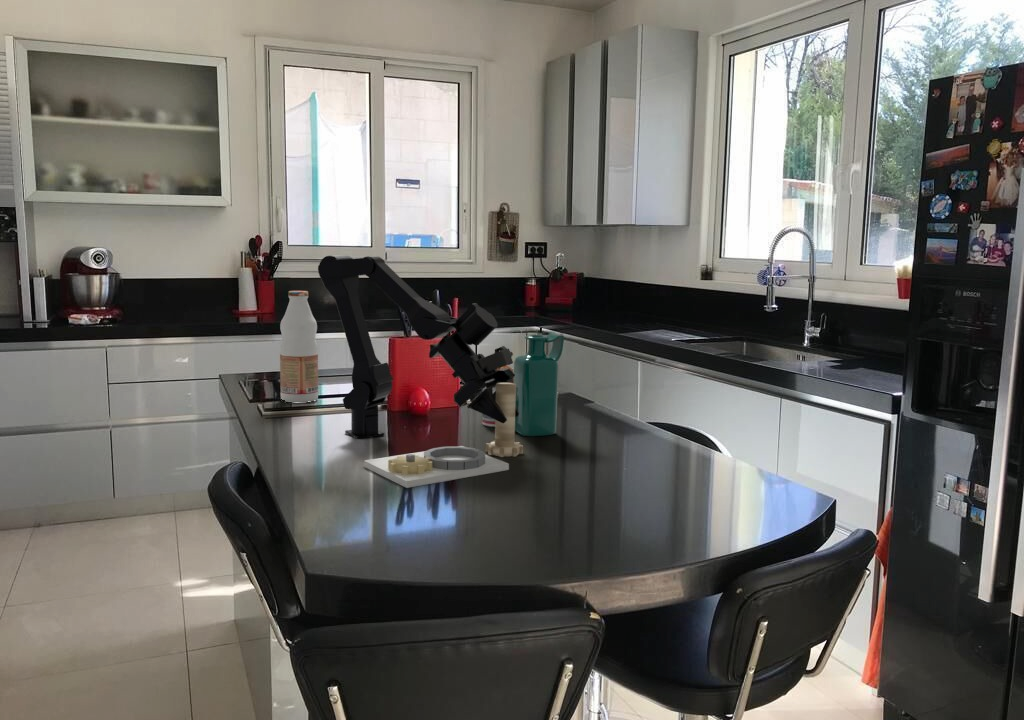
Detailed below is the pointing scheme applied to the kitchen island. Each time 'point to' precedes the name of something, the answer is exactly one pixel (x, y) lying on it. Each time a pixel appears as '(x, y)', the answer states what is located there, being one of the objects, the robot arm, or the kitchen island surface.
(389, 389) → the robot arm
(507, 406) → the disc
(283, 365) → the fruit juice
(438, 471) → the gear board
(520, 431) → the pitcher
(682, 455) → the kitchen island surface
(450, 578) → the kitchen island surface
